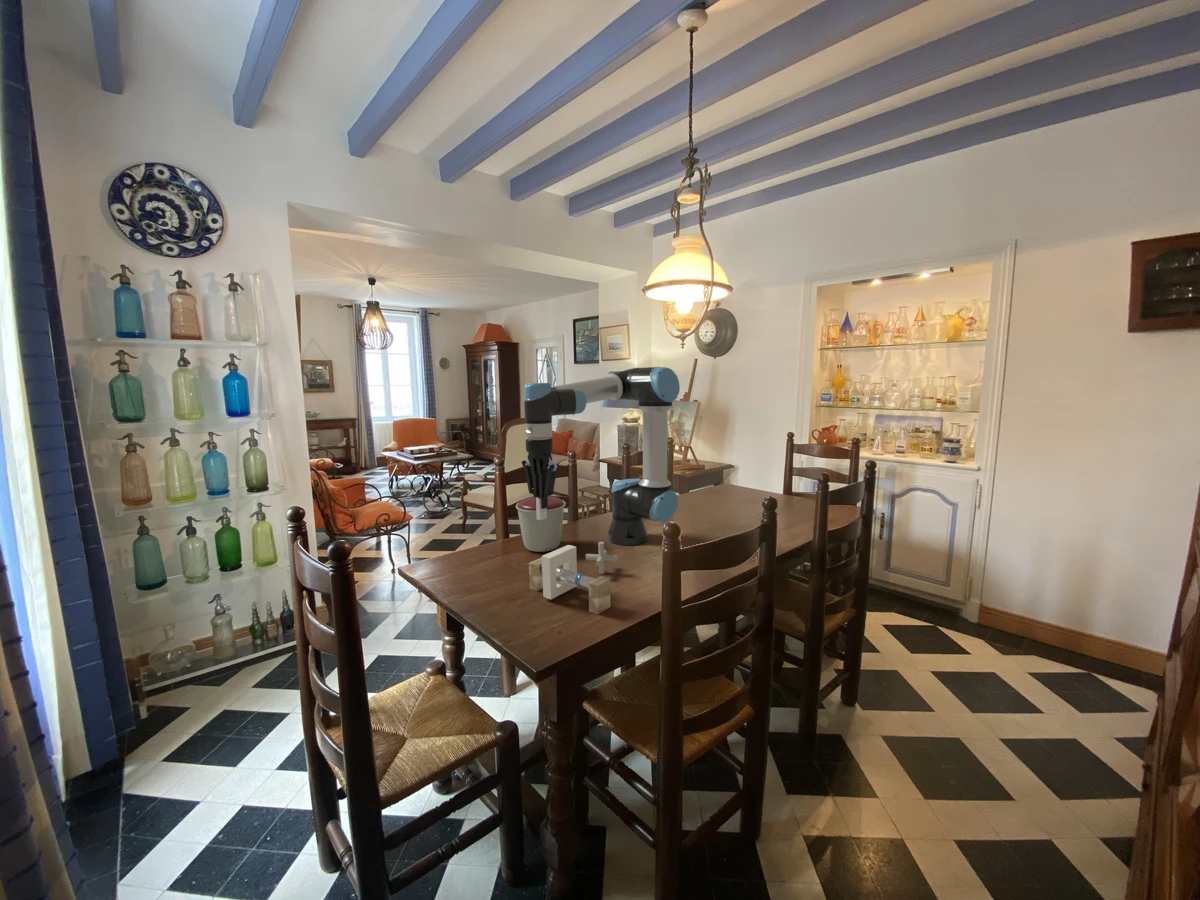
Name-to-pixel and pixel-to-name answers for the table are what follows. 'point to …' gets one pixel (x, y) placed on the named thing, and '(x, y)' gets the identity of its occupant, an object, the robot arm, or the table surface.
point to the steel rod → (572, 576)
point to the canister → (541, 524)
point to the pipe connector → (601, 557)
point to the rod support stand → (597, 588)
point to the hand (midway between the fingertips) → (541, 518)
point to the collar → (549, 565)
